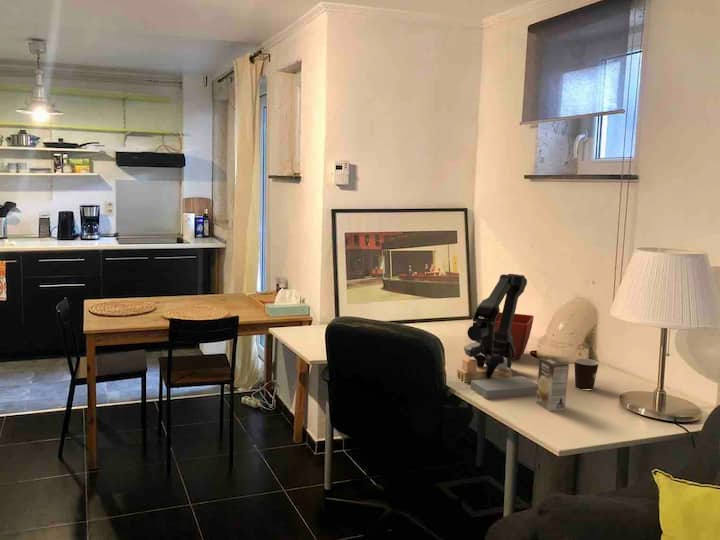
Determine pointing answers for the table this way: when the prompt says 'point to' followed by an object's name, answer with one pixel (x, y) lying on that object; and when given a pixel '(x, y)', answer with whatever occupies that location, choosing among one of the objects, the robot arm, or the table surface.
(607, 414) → the table surface
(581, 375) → the coffee mug
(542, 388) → the coffee box
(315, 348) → the table surface
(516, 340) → the plant pot
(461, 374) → the wooden block
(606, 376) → the table surface
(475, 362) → the orange cube
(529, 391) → the dock
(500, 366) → the grey cube
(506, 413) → the table surface
